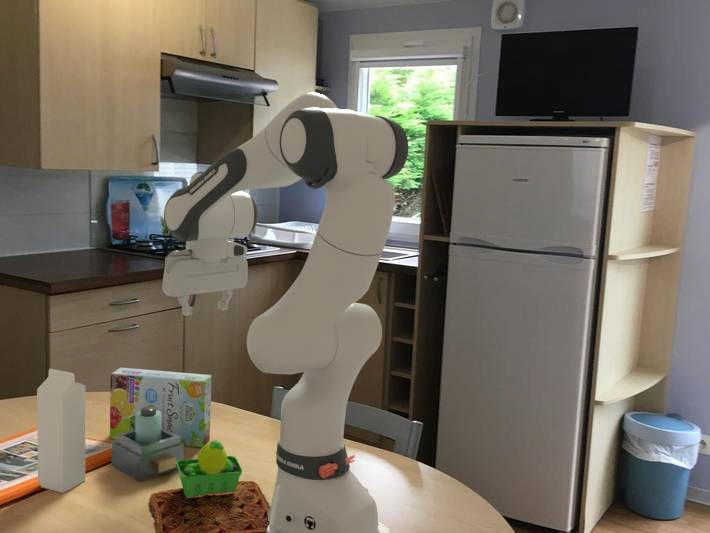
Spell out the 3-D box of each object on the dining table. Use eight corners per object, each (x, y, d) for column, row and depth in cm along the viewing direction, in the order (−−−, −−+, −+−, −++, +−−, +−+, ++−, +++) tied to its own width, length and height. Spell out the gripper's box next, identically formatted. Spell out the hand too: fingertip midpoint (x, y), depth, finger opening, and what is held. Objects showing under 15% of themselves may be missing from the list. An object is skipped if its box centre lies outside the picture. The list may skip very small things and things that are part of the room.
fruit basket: (234, 479, 146) (235, 424, 144) (244, 499, 138) (246, 442, 136) (175, 485, 142) (176, 429, 140) (181, 507, 134) (183, 447, 132)
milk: (60, 474, 144) (60, 364, 141) (86, 480, 142) (86, 369, 138) (37, 486, 138) (36, 372, 135) (62, 493, 136) (62, 377, 133)
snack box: (210, 439, 165) (212, 374, 163) (203, 449, 160) (205, 381, 157) (118, 430, 167) (119, 365, 165) (108, 439, 161) (108, 373, 159)
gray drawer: (188, 469, 149) (188, 439, 148) (145, 485, 141) (145, 452, 140) (154, 452, 156) (154, 422, 155) (111, 465, 149) (111, 434, 148)
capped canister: (166, 442, 149) (166, 409, 148) (144, 449, 145) (144, 415, 144) (152, 435, 152) (152, 403, 151) (130, 442, 148) (130, 408, 147)
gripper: (175, 253, 147) (173, 321, 149) (253, 247, 162) (250, 309, 164) (156, 249, 151) (155, 315, 153) (234, 243, 166) (232, 303, 168)
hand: (205, 312), depth 159 cm, fingers open, 8 cm apart
